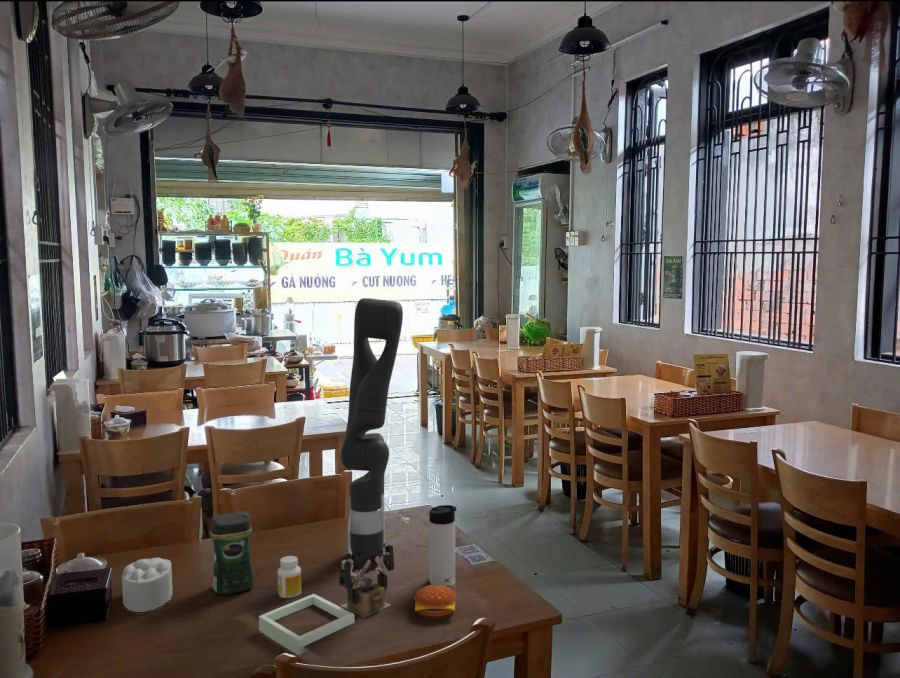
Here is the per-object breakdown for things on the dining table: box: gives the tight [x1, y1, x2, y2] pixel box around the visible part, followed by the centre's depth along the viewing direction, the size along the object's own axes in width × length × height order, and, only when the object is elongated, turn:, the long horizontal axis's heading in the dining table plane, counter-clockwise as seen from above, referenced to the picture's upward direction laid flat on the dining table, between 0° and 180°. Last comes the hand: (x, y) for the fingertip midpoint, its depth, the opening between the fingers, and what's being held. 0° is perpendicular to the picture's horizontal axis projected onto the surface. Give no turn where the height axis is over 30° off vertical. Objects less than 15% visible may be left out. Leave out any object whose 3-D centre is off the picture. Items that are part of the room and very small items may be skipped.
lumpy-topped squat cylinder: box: [121, 557, 173, 612], centre depth 168 cm, size 10×13×9 cm
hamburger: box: [413, 584, 457, 621], centre depth 160 cm, size 9×10×7 cm
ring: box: [346, 581, 386, 614], centre depth 162 cm, size 7×6×4 cm
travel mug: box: [428, 504, 457, 588], centre depth 174 cm, size 6×7×20 cm
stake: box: [340, 576, 392, 618], centre depth 162 cm, size 8×8×8 cm
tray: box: [258, 593, 356, 656], centre depth 154 cm, size 14×14×3 cm
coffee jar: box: [209, 510, 255, 595], centre depth 174 cm, size 10×8×19 cm
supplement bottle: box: [277, 555, 302, 599], centre depth 168 cm, size 5×5×10 cm
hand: (367, 597), depth 162 cm, fingers open, 8 cm apart
